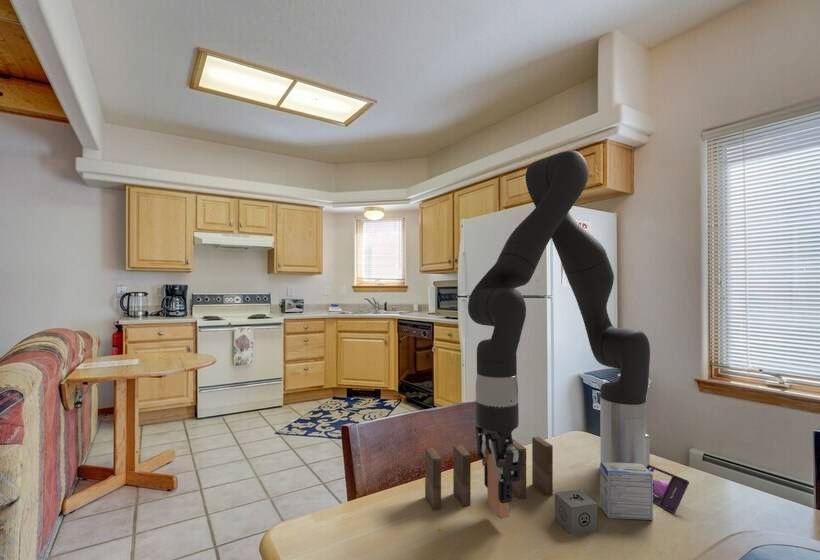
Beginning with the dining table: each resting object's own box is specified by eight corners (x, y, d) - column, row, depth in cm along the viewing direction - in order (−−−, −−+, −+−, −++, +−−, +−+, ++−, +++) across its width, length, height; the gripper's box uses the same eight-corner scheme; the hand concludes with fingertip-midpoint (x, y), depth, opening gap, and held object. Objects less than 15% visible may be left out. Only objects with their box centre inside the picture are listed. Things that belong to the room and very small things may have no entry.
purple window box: (670, 510, 77) (631, 490, 85) (688, 525, 78) (647, 504, 86) (686, 478, 79) (645, 462, 87) (702, 493, 80) (661, 475, 88)
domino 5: (538, 483, 89) (538, 436, 89) (552, 494, 84) (552, 445, 84) (532, 484, 89) (532, 437, 89) (545, 495, 84) (545, 446, 84)
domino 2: (460, 494, 84) (460, 445, 84) (470, 507, 80) (470, 454, 80) (453, 495, 84) (453, 445, 84) (462, 508, 79) (462, 455, 79)
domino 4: (513, 486, 87) (513, 439, 88) (526, 498, 83) (526, 448, 83) (506, 487, 87) (506, 440, 87) (519, 499, 82) (519, 449, 82)
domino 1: (432, 498, 83) (432, 447, 83) (441, 511, 78) (441, 458, 78) (425, 499, 82) (425, 448, 83) (432, 512, 78) (433, 458, 78)
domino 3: (495, 502, 77) (494, 448, 77) (508, 516, 72) (508, 459, 72) (487, 503, 76) (487, 449, 76) (500, 518, 71) (499, 460, 71)
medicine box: (642, 508, 79) (642, 462, 79) (653, 521, 75) (653, 473, 75) (599, 506, 80) (599, 461, 80) (608, 519, 76) (608, 471, 76)
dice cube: (597, 532, 72) (596, 503, 72) (571, 536, 70) (571, 507, 70) (579, 516, 76) (578, 489, 77) (554, 520, 75) (554, 492, 75)
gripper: (537, 408, 68) (538, 512, 68) (497, 387, 82) (498, 473, 82) (496, 412, 66) (497, 519, 66) (462, 390, 80) (462, 478, 80)
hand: (497, 493), depth 74 cm, fingers closed on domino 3, 5 cm apart
